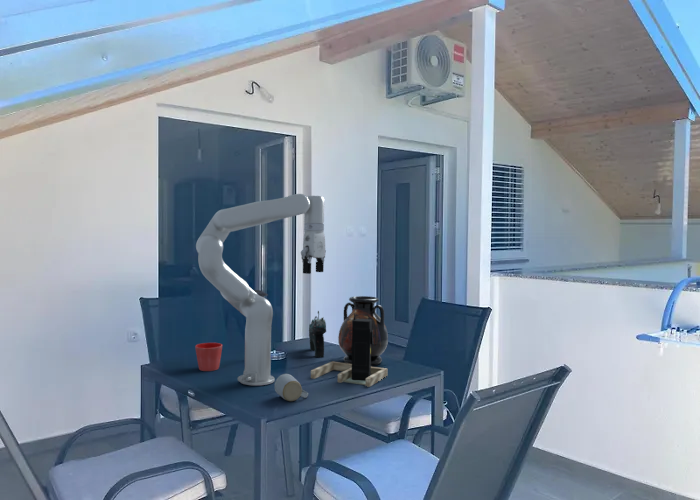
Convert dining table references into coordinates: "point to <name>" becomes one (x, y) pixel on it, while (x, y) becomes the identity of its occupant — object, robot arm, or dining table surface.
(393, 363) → the dining table surface
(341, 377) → the slot rack
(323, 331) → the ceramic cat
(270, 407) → the dining table surface
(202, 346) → the flower pot
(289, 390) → the ceramic mug
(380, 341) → the amphora vase
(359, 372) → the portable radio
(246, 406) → the dining table surface
